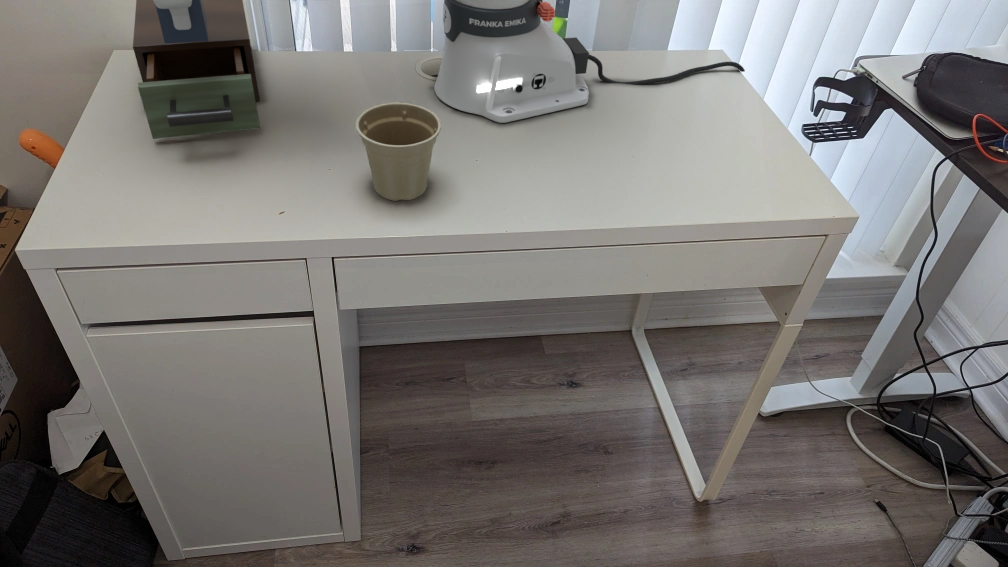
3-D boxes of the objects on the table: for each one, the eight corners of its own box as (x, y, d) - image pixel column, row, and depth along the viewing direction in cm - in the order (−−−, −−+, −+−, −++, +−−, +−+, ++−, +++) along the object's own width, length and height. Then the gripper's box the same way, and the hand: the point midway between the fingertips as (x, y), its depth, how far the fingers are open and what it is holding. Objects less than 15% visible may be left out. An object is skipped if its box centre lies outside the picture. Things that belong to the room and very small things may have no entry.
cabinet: (260, 100, 99) (249, 38, 93) (150, 110, 95) (132, 46, 89) (251, 50, 110) (241, -8, 104) (152, 57, 106) (136, -3, 100)
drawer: (263, 149, 88) (254, 98, 84) (152, 161, 85) (136, 108, 80) (251, 75, 102) (242, 28, 97) (154, 83, 98) (141, 34, 94)
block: (207, 24, 89) (197, -26, 85) (208, 41, 86) (198, -11, 82) (165, 26, 88) (152, -24, 84) (164, 43, 84) (152, -9, 80)
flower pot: (427, 217, 82) (427, 152, 76) (348, 202, 83) (342, 137, 77) (448, 173, 89) (450, 110, 83) (375, 159, 90) (372, 96, 84)
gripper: (125, -139, 82) (155, -15, 91) (116, -84, 68) (152, 55, 77) (184, -138, 84) (208, -17, 93) (187, -85, 70) (215, 51, 79)
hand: (183, 16), depth 85 cm, fingers closed on block, 5 cm apart
